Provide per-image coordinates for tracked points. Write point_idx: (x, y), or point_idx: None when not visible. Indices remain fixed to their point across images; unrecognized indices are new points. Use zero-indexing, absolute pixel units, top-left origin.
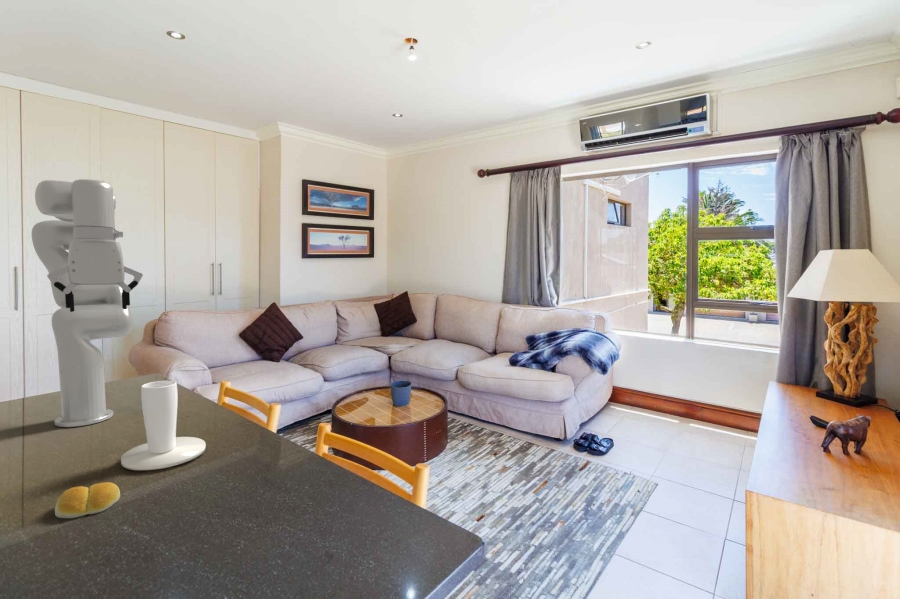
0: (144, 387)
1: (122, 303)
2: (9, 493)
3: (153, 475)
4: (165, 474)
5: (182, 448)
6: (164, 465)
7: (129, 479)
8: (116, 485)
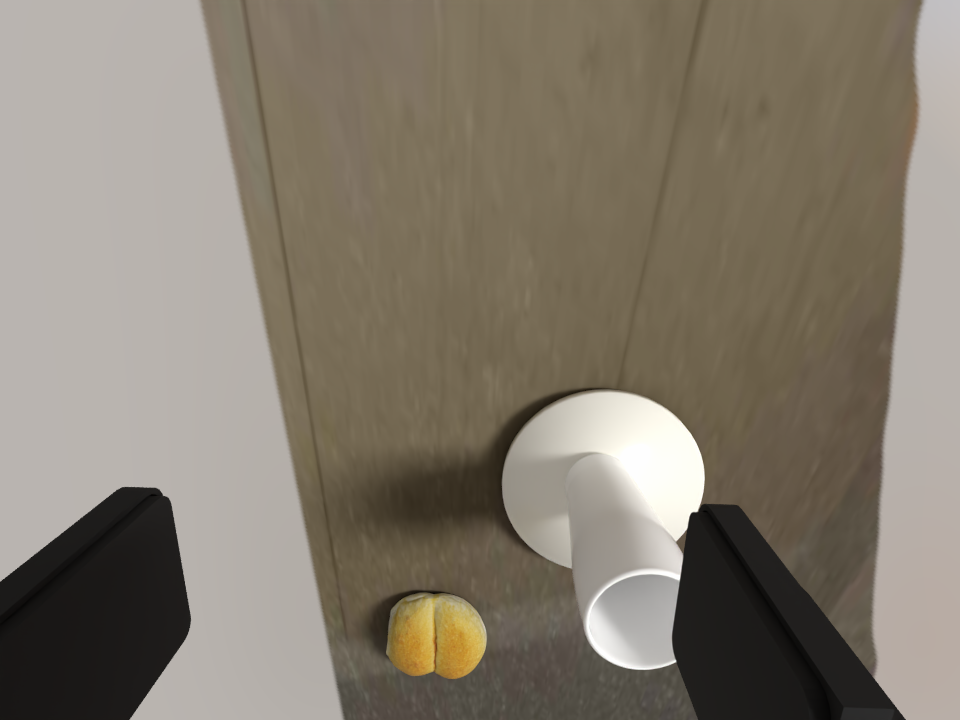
0: (590, 642)
1: (705, 624)
2: (298, 478)
3: (555, 567)
4: None
5: None
6: None
7: (510, 557)
8: (481, 645)
